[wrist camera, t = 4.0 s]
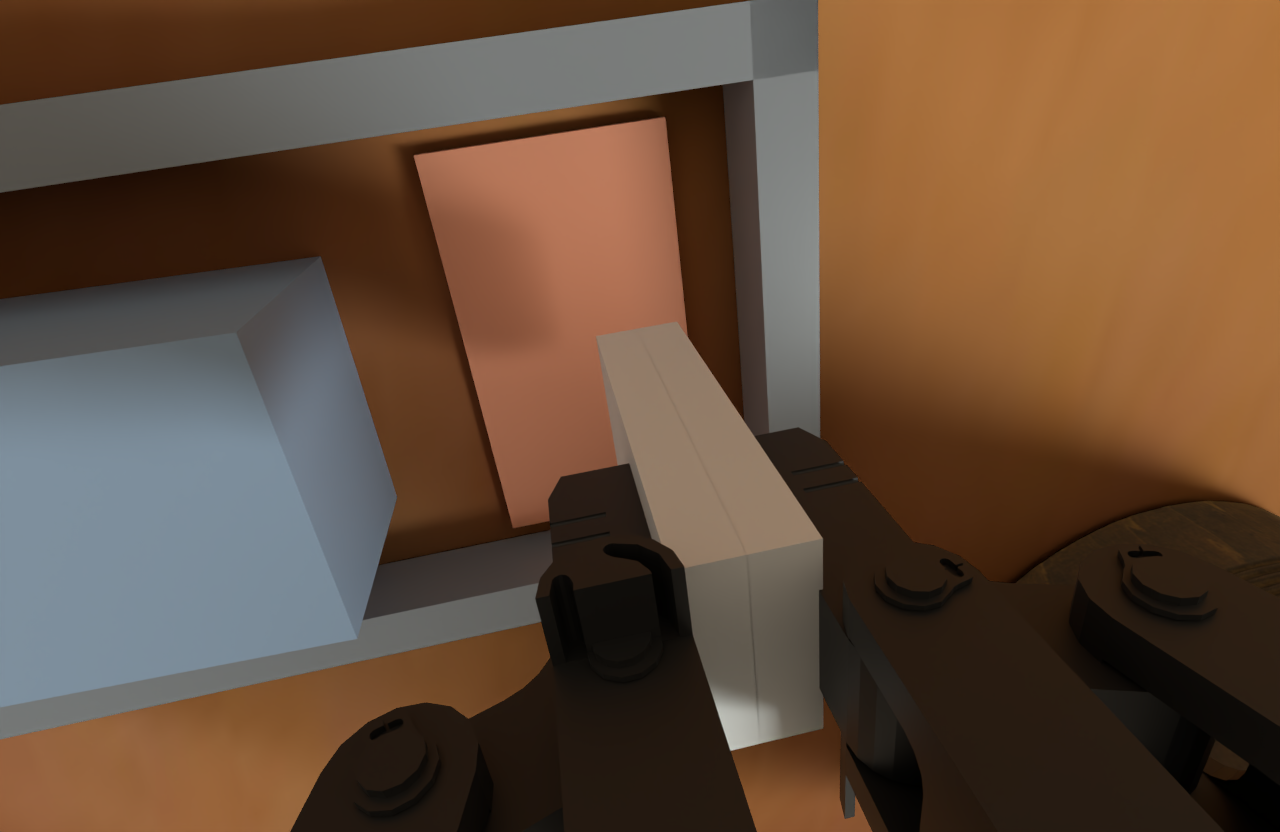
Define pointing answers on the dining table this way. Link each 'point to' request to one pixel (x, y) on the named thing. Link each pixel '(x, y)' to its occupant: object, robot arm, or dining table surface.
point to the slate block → (181, 478)
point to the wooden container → (1204, 529)
